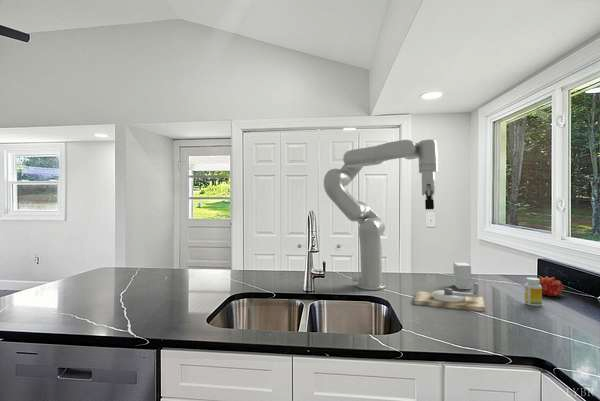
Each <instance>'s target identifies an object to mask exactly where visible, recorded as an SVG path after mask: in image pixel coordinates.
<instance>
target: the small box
mask: <svg viewBox="0 0 600 401" xmlns="http://www.w3.org/2000/svg"><path fill="white" fill-rule="evenodd" d="M452 265H453V285H454V286H455V287H456V288H457V290H472V266H471V265H470V264H469V263H467V262H453V264H452Z"/></svg>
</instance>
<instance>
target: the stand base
mask: <svg viewBox="0 0 600 401" xmlns="http://www.w3.org/2000/svg"><path fill="white" fill-rule="evenodd" d="M432 292H433V291H431V292H430V291H420V290H418V291H417V292H416V295H415V297H414V299H413V304H414V305H419V306H426V307H427V306H429V307H436V308H437V307H439V308H446V309H447V308H448V309H457V310H465V311H466V310H467V311H475V312H476V311H477V312H486V306H485V302H484V296H479V297H468V296H466V300H465V301H464V302H458V303H450V302H442V301H438V300H435V299H433V298H432Z"/></svg>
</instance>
